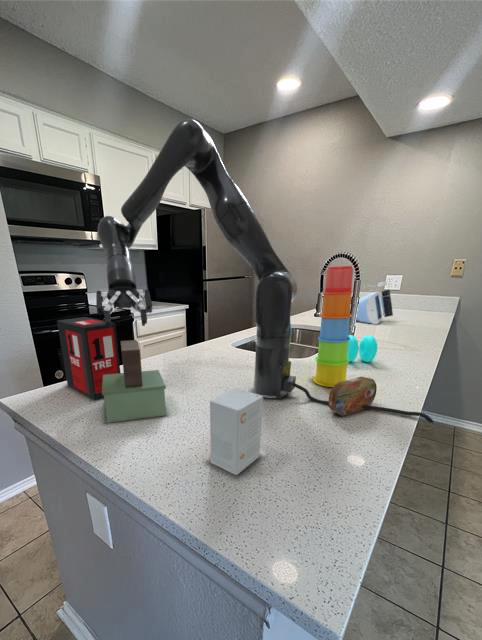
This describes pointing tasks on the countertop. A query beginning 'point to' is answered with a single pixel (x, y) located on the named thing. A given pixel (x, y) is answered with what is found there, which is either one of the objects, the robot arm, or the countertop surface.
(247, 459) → the small box
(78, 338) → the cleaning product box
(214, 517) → the countertop surface
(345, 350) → the stacking cups
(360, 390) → the tin
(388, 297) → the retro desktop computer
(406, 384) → the countertop surface
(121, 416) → the toy box
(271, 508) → the countertop surface
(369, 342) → the cyan double-lobed piece
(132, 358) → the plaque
